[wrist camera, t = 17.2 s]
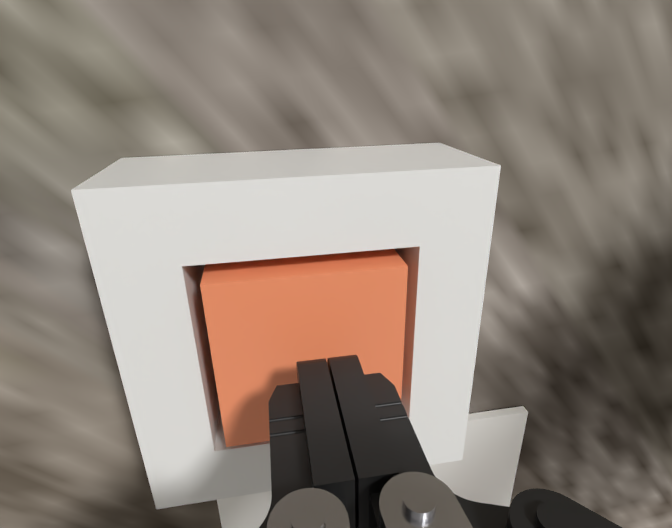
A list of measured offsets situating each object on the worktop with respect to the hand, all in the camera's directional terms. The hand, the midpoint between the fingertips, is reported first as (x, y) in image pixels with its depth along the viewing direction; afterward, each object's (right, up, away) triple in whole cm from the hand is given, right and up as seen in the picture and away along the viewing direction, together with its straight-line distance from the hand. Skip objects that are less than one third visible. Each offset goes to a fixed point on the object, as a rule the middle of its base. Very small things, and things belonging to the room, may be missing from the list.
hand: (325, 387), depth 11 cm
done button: (-1, +2, +4) cm, 4 cm away
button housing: (-1, +2, +5) cm, 5 cm away
